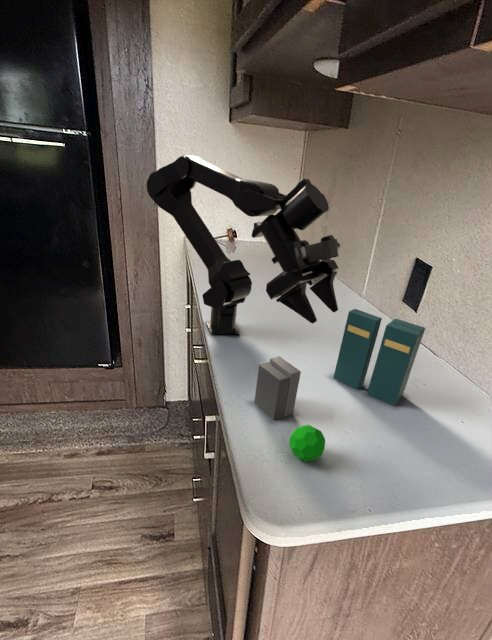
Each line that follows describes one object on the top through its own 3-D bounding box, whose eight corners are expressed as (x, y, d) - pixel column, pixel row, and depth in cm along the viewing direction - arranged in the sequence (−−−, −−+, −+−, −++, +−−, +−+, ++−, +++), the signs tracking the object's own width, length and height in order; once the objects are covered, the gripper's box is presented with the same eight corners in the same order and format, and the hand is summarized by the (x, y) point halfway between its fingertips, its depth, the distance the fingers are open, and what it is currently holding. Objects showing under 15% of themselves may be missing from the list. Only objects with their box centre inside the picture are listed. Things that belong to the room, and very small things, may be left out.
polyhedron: (301, 472, 53) (308, 444, 51) (280, 451, 57) (285, 424, 54) (328, 461, 56) (335, 434, 54) (306, 441, 59) (312, 415, 57)
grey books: (254, 402, 67) (259, 360, 63) (273, 397, 69) (279, 356, 65) (273, 420, 63) (280, 376, 59) (293, 413, 65) (301, 371, 62)
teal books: (366, 394, 74) (386, 325, 67) (375, 384, 78) (395, 318, 71) (394, 406, 72) (418, 335, 65) (402, 395, 76) (425, 327, 69)
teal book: (333, 378, 78) (348, 311, 71) (339, 374, 80) (355, 308, 73) (357, 389, 75) (376, 320, 69) (363, 385, 77) (382, 318, 70)
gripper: (290, 221, 63) (338, 307, 64) (339, 217, 77) (378, 287, 78) (246, 259, 70) (289, 336, 71) (298, 249, 85) (334, 313, 85)
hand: (325, 316), depth 76 cm, fingers open, 9 cm apart
